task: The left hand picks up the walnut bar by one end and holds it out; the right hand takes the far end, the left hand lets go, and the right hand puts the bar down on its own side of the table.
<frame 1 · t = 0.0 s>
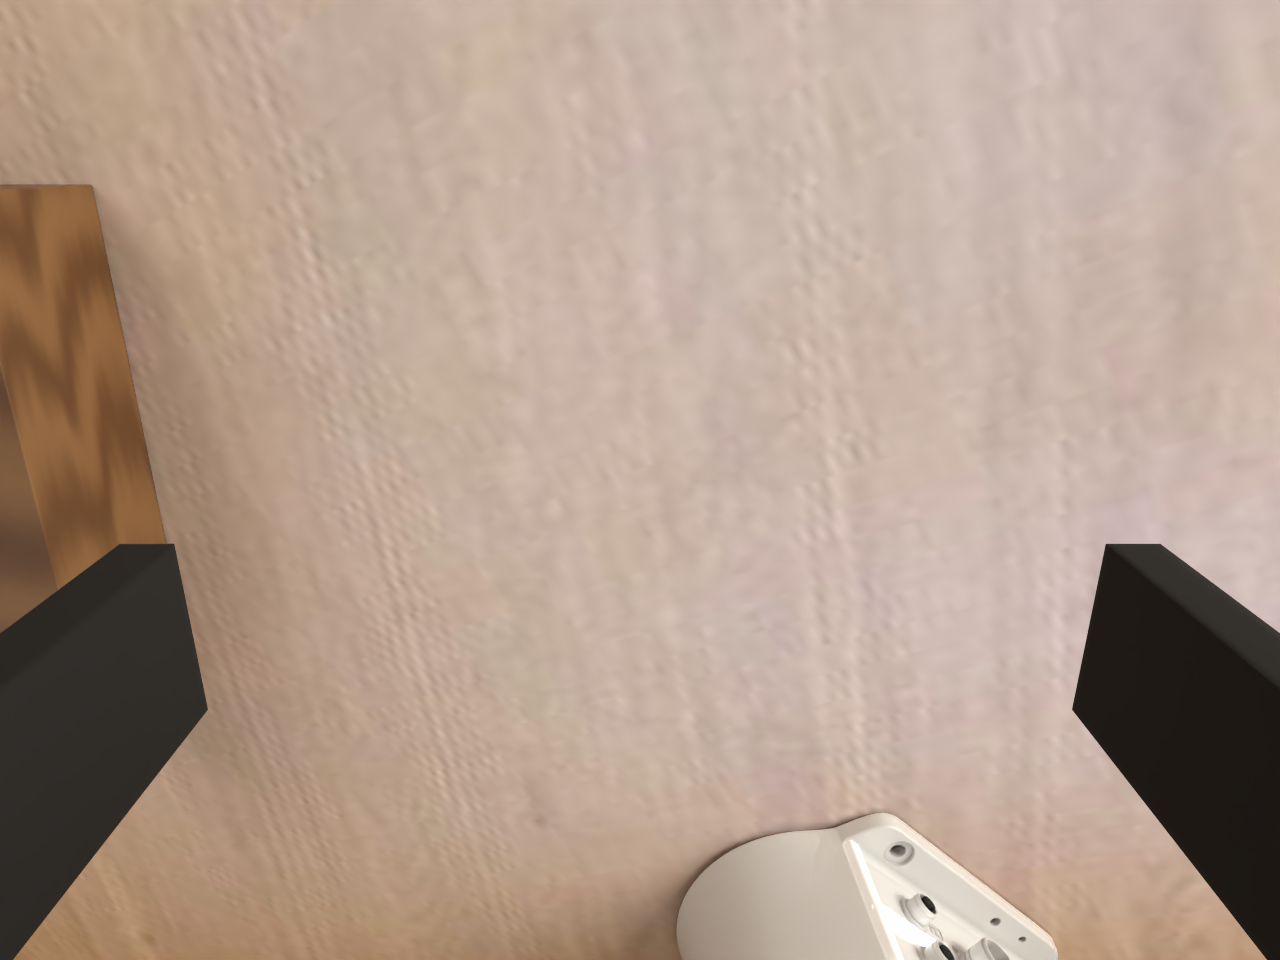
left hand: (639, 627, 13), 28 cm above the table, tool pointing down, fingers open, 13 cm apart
bar: (99, 459, 41), on the table
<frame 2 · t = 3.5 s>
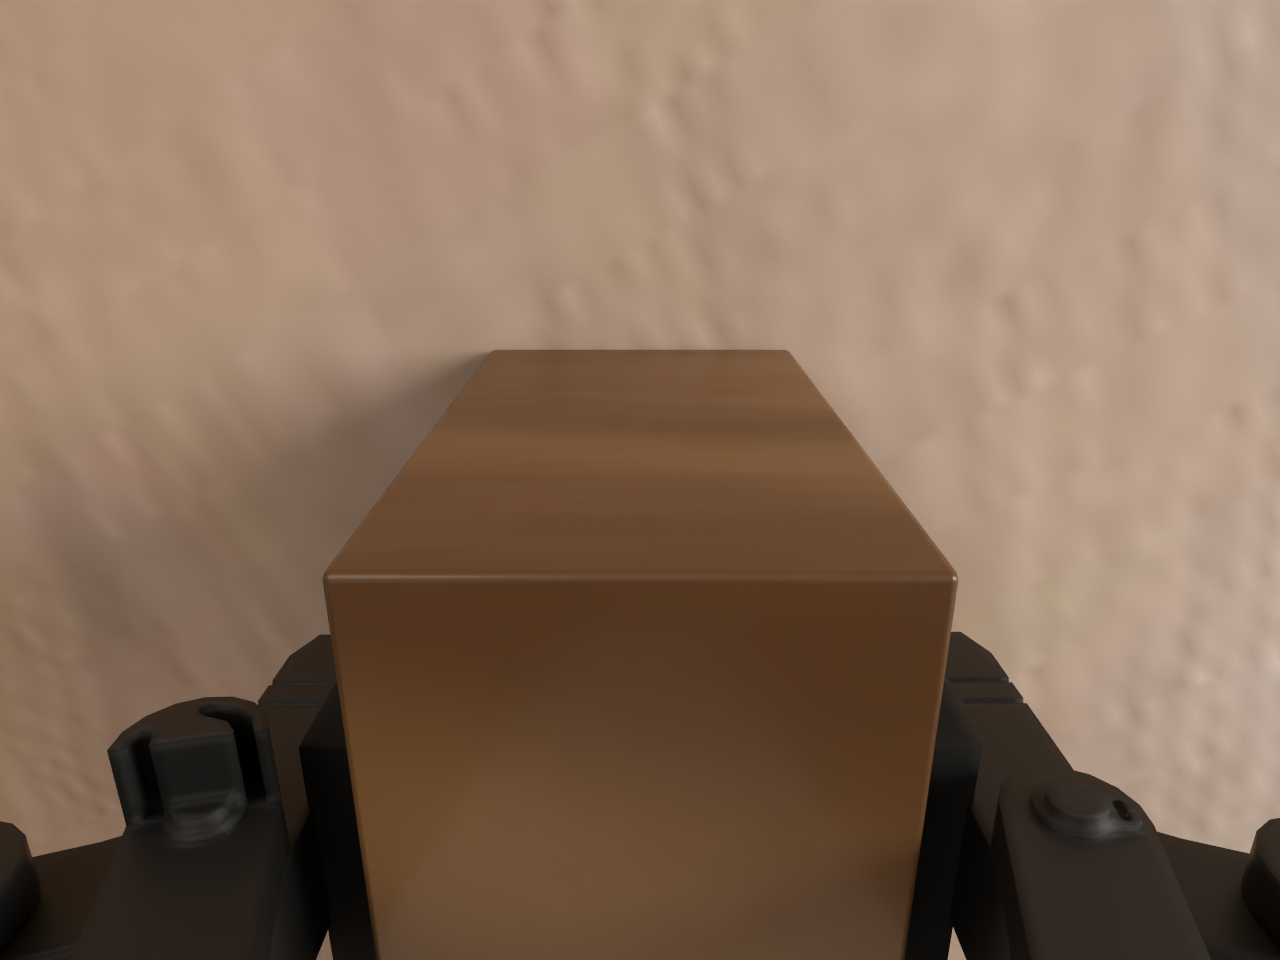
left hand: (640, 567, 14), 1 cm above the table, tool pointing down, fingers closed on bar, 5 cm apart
bar: (640, 937, 18), on the table, touching left hand
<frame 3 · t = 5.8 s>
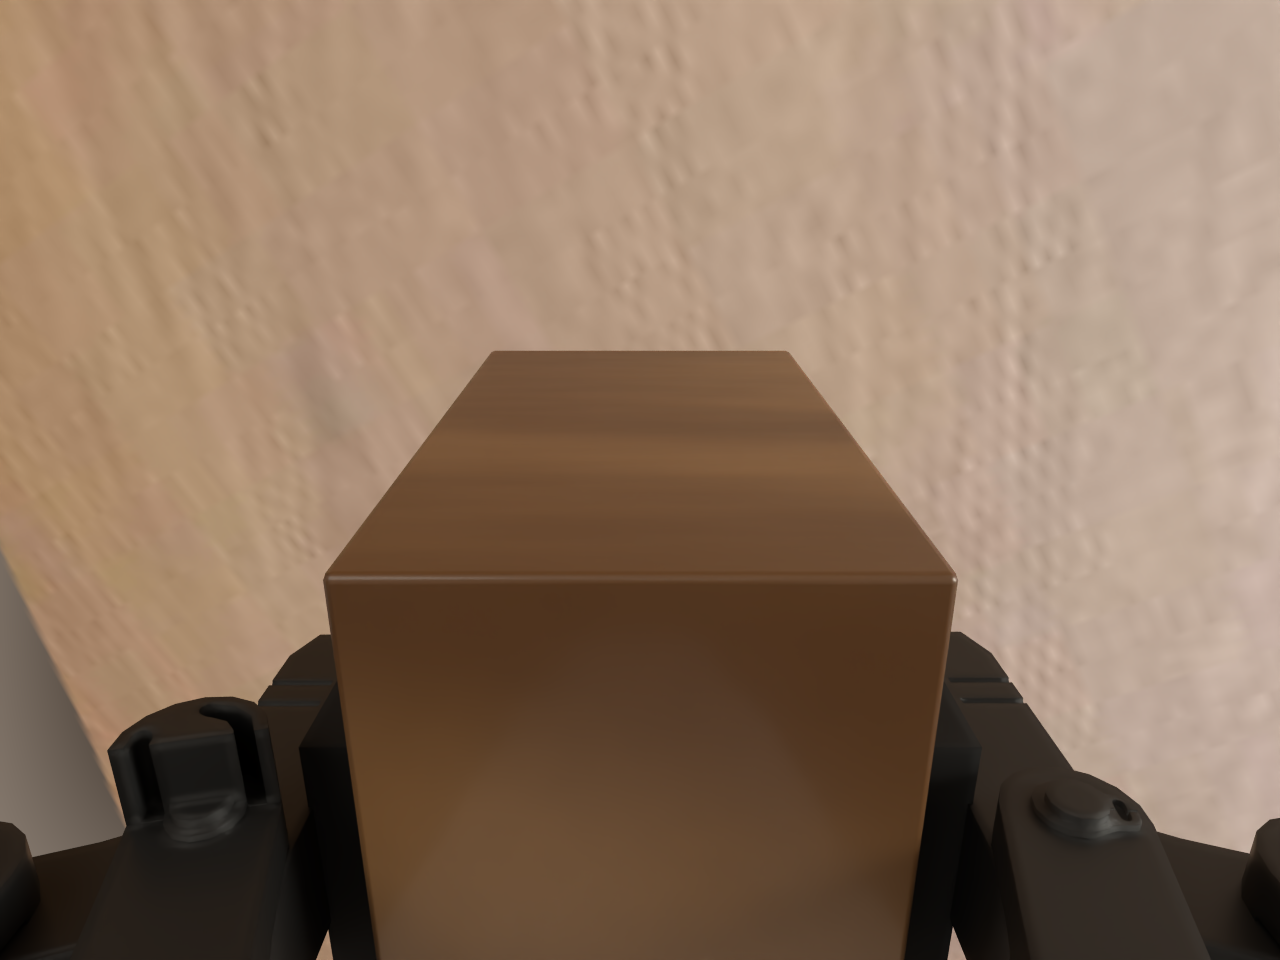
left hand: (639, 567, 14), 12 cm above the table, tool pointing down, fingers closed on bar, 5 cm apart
bar: (640, 938, 18), point 12 cm above the table, touching left hand
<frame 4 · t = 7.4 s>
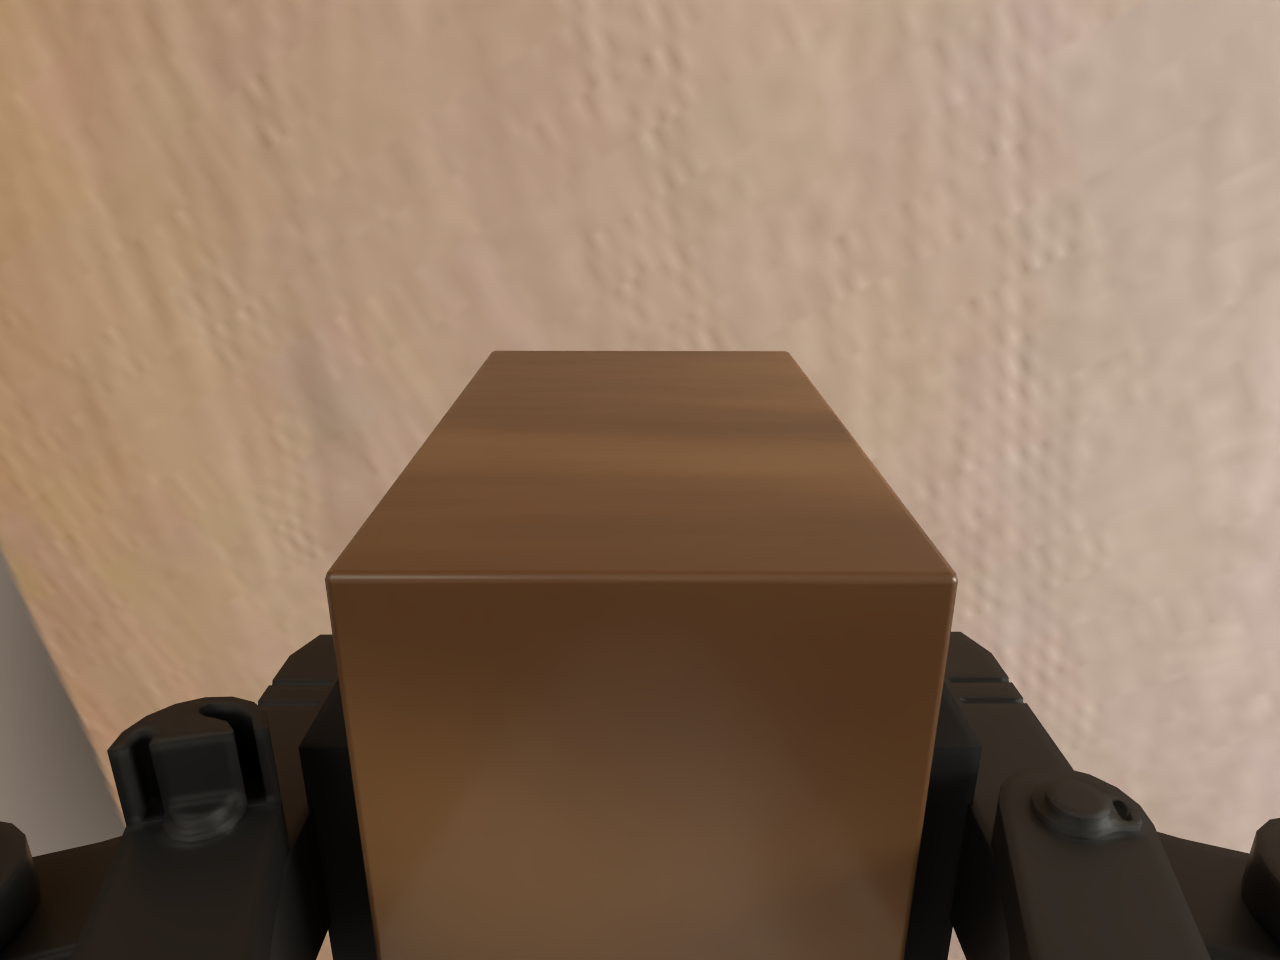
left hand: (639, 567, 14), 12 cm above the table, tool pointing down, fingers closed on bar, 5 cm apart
bar: (639, 938, 18), point 12 cm above the table, touching left hand, right hand
when the left hand's fingers open (12 cm above the table, at t = 8.4 s): bar stays where it is, held by the right hand.
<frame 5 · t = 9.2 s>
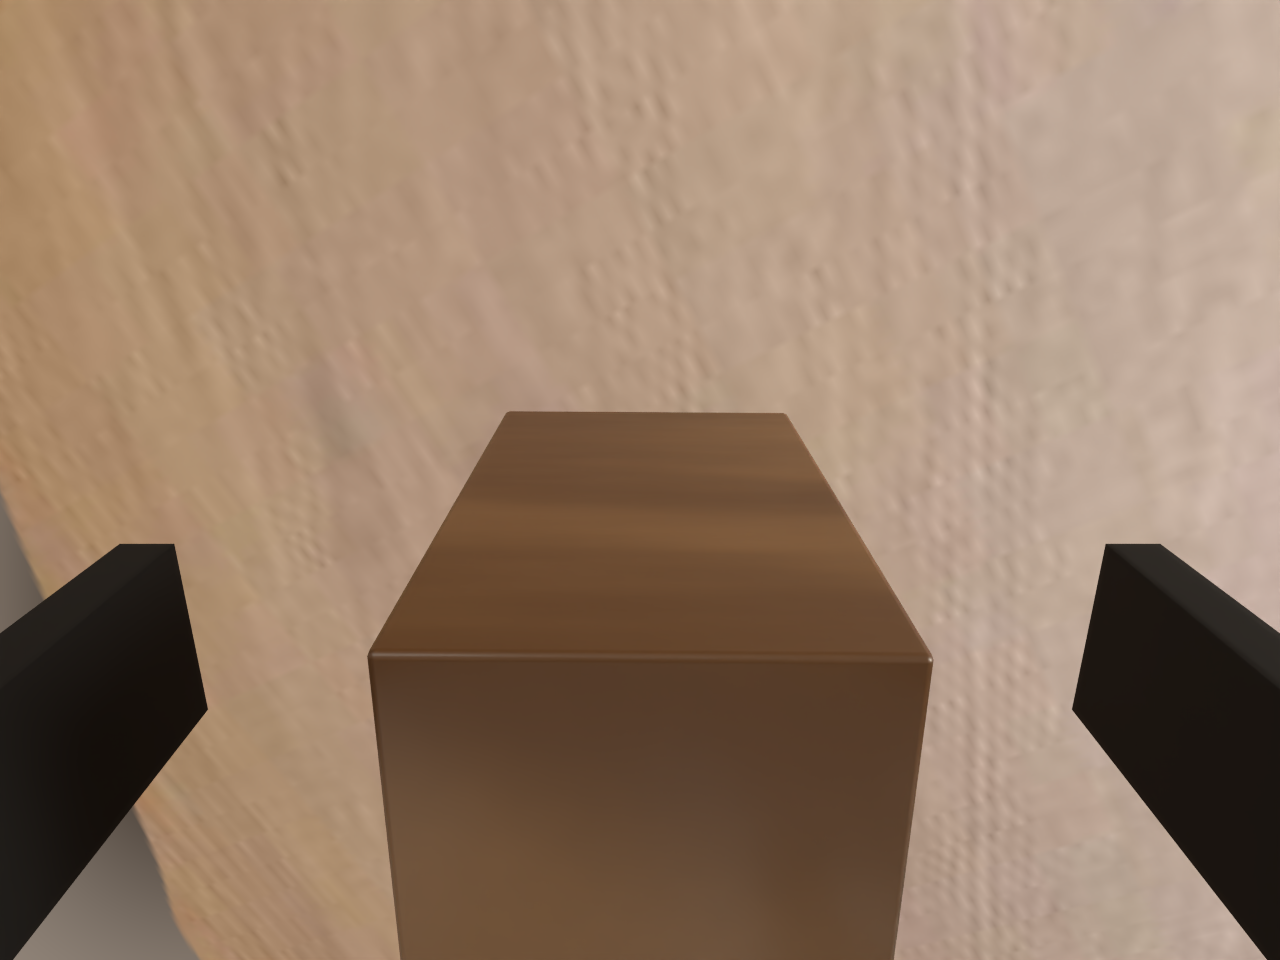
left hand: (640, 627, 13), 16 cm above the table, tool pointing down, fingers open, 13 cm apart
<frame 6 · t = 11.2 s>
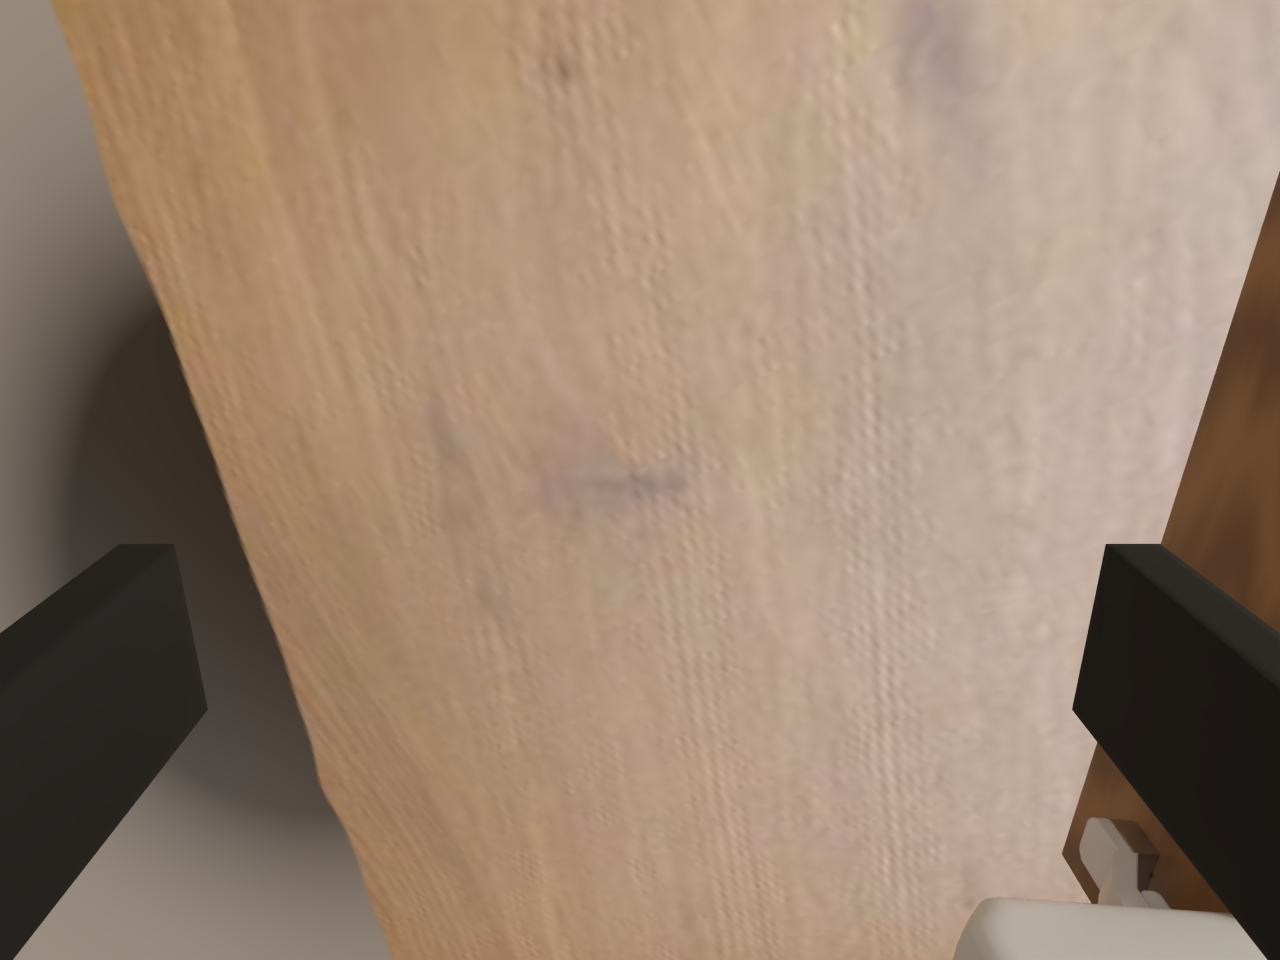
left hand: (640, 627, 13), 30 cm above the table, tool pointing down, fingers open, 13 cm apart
bar: (1224, 565, 29), point 15 cm above the table, touching right hand
when the right hand's fingers open (5 cm above the table, at t = 15.3 s): bar drops 1 cm, on the table.
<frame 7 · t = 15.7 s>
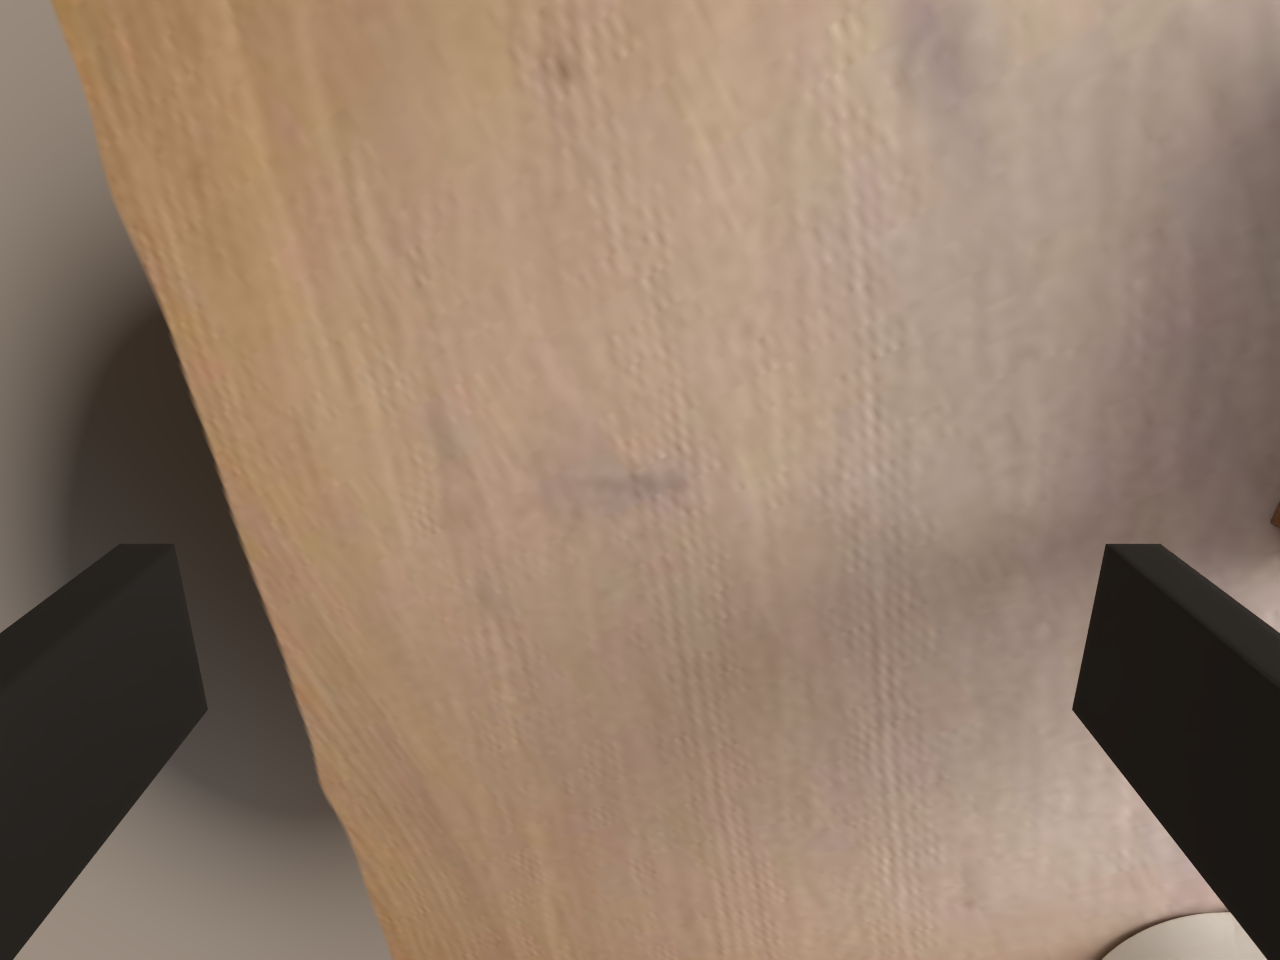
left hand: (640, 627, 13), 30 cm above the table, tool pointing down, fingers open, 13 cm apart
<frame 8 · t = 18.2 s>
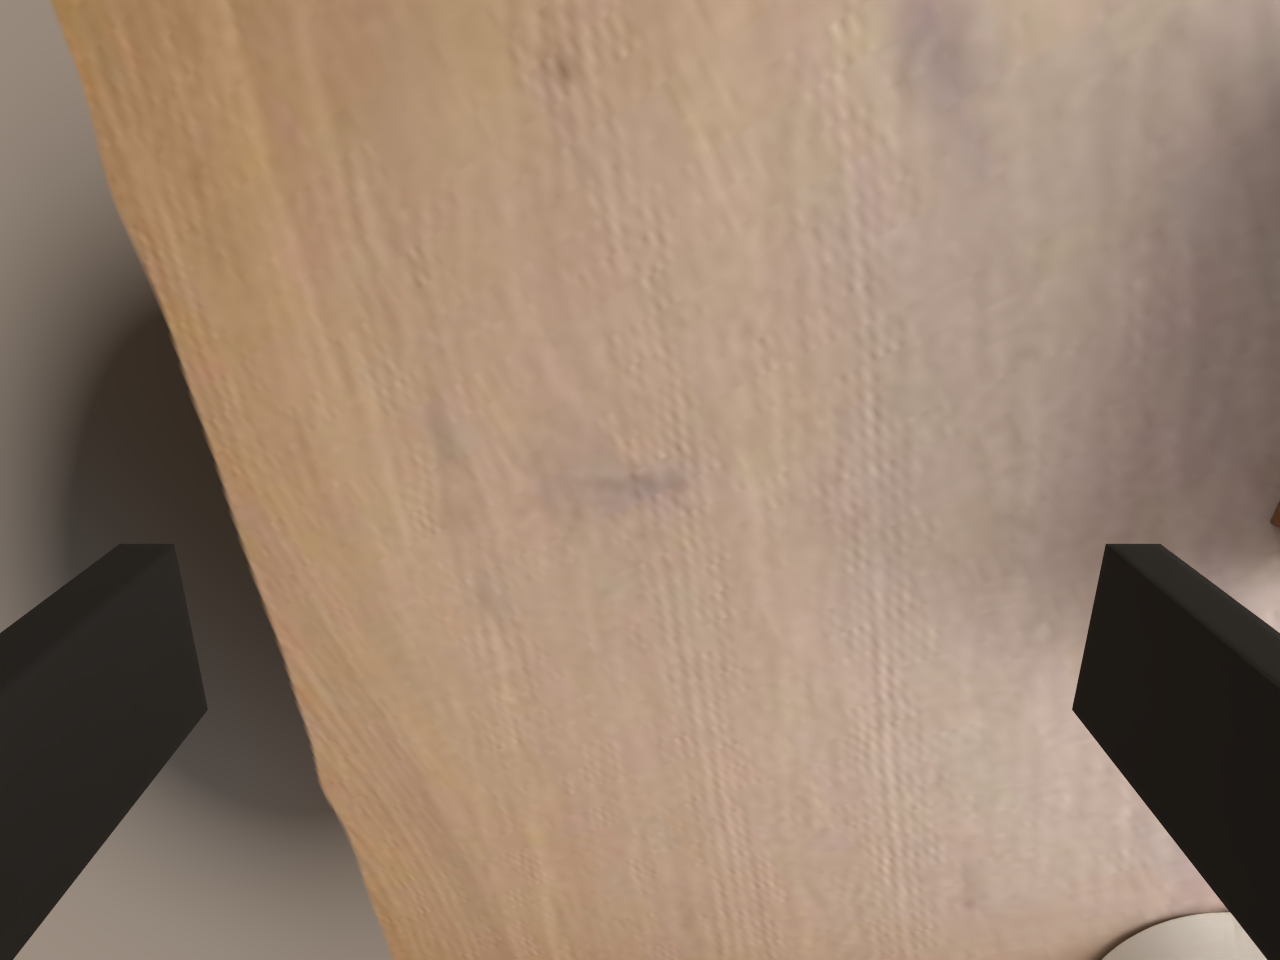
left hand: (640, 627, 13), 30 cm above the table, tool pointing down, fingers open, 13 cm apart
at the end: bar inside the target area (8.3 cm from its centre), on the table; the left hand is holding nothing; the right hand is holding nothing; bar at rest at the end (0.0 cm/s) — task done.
